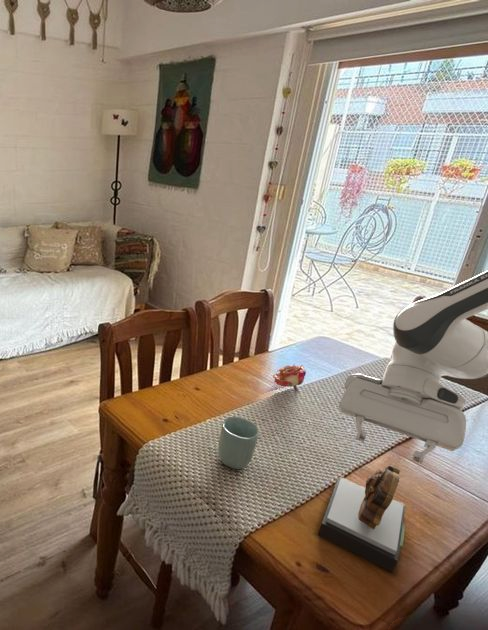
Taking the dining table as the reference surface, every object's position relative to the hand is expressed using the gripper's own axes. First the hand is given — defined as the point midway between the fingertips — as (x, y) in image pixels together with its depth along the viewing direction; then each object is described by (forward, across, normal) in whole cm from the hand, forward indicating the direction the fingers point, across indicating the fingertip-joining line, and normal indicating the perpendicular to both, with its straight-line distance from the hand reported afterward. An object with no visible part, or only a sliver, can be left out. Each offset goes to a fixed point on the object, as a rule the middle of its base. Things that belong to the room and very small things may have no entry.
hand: (387, 450), depth 86 cm
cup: (+14, -26, +6) cm, 30 cm away
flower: (-17, -26, +37) cm, 48 cm away
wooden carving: (+13, 0, +2) cm, 13 cm away
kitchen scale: (+15, 0, +5) cm, 16 cm away
